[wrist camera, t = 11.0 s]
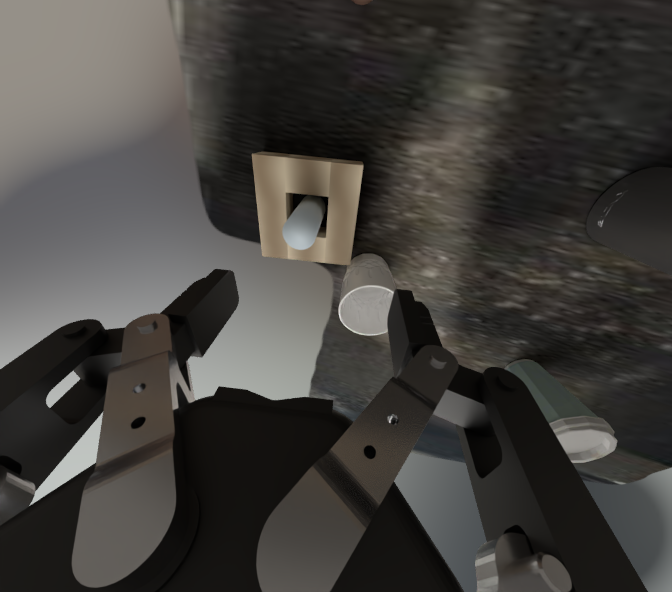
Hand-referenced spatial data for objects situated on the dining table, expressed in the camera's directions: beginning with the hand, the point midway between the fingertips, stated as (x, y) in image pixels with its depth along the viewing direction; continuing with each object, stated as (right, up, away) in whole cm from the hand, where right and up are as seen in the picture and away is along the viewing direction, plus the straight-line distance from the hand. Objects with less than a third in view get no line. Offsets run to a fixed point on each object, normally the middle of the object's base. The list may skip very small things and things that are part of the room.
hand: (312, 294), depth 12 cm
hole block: (-2, +12, +20) cm, 23 cm away
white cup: (+6, +4, +25) cm, 26 cm away
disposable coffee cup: (+38, -14, +36) cm, 54 cm away
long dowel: (-2, +12, +20) cm, 23 cm away
